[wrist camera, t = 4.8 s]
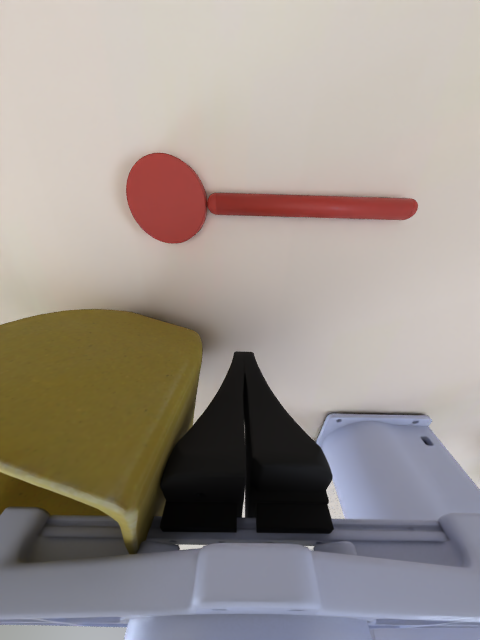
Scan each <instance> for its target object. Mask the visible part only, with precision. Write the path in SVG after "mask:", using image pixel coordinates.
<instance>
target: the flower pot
mask: <svg viewBox="0 0 480 640" xmlns="http://www.w3.org/2000/svg"><path fill="white" fill-rule="evenodd" d="M202 351H203V349H202V342H201V338H200V336H199V334H198V333H197V332H195V331H194V330H191V329H187V328H184V327H181V326H177V325H174V324H170V323H167V322H163V321H160V320H156V319H153V318H150V317H146V316H143V315H140V314H136V313H133V312H128V311H118V310H104V309H81V310H67V311H60V312H53V313H47V314H41V315H37V316H32V317H28V318H24V319H20V320H16V321H13V322H9V323H5V324H2V325H0V515H1V514H2V512H3V511H4V510H5V509H6V508H8V507H38V508H42V509H44V510H46V511H48V513H49V514H50V515H83V516H110V517H111V518H113V519H114V520H115V521H117V522H118V523H119V525H120V528H121V532H122V536H123V540H124V543H125V546H126V548H127V550H128V553H129V554H137V551H138V549H139V547H140V544H141V543H142V542H143V541H146V538H147V535H148V532H149V529H150V527H151V525H152V521H153V518H154V516H159V517H162V514H163V510H164V506H165V502H166V499H165V497H164V495H163V492H162V490H161V487H160V483H161V479H162V476H163V472H164V469H165V466H166V463H167V461H168V458H169V456H170V454H171V452H172V450H173V448H174V446H175V444H176V443H177V442H178V441H179V440H180V439H181V438H182V437H183V436H184V435H185V434H186V433H187V432H188V431H189V429H190V428H191V427H192V426H193V418H194V409H195V402H196V395H197V387H198V381H199V374H200V368H201V362H202Z"/></svg>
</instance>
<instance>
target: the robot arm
mask: <svg viewBox="0 0 480 640" xmlns="http://www.w3.org/2000/svg"><path fill="white" fill-rule="evenodd" d="M431 422H432V419H431V418H430V417H429V416H426V415H377V414H329V415H328V416H327V417H326V420H325V422H324V424H323V427H322V429H321V432H320V434H319V436H318V439H317V441H316V442H315V441H314V440H312V439H311V438H310V437H309V436H308V435H307V434H306V433H305V432H304V431H303V429H302V428H301V427H300V426H299V425H298V424H297V423H296V422H295V421H294V420H293V418H292V417H291V416H290V415H289V414H288V413H287V411H286V410H285V409H284V408H283V406H282V405H281V404H280V402H279V401H278V400H277V398H276V397H275V395H274V394H273V392H272V391H271V389H270V387H269V386H268V384H267V382H266V381H265V379H264V377H263V375H262V373H261V371H260V369H259V367H258V364H257V362H256V359H255V356H254V353H253V352H235V353H234V356H233V360H232V363H231V366H230V368H229V371H228V373H227V375H226V377H225V379H224V381H223V383H222V385H221V387H220V389H219V390H218V392H217V394H216V395H215V397H214V398H213V400H212V402H211V403H210V404H209V406H208V407H207V409H206V410H205V411H204V413H203V414H202V415H201V416H200V418H199V419H198V420H197V421H196V422H195V424H194V425H193V426H192V427H191V428H190V429H189V431H188V432H187V433H186V434H185V435H184V436H183V437H182V438H181V439H180V440H179V441H178V442H177V443H176V444H175V446H174V448H173V450H172V452H171V454H170V456H169V458H168V461H167V463H166V466H165V469H164V472H163V476H162V479H161V483H160V487H161V490H162V492H163V495H164V497H165V499H166V502H165V506H164V510H163V514H162V517H159V516H154V518H153V521H152V525H151V527H150V529H149V532H148V535H147V538H146V541H143V542H142V543H141V544H140V547H139V549H138V551H137V554H129V553H128V550H127V548H126V546H125V543H124V540H123V536H122V532H121V528H120V525H119V523H118V522H117V521H115V520H114V519H113V518H111V517H110V516H83V515H50V514H49V513H48V511H46V510H44V509H42V508H38V507H8V508H6V509H5V510H4V511H3V512H2V514H1V515H0V625H52V626H54V625H55V626H94V627H95V626H96V627H127V630H126V634H125V637H124V640H480V489H479V488H478V487H477V486H476V485H475V483H474V482H473V481H472V480H471V478H470V477H469V476H468V475H467V473H466V472H465V471H464V470H463V469H462V467H461V466H460V465H459V464H458V462H457V461H456V460H455V459H454V457H453V456H452V455H451V454H450V453H449V451H448V450H447V449H446V448H445V446H444V445H443V444H442V443H441V441H440V440H439V439H438V438H437V437H436V435H435V434H434V433H433V432H432V430H431V429H430V428H429V427H428V426H429V425H430V423H431ZM244 424H245V433H244ZM332 480H333V483H334V486H335V489H336V492H337V495H338V498H339V501H340V504H341V507H342V511H343V514H344V517H345V519H331V516H330V512H329V509H328V505H327V504H328V503H329V500H328V497H327V493H326V489H327V487H328V486H329V484H330V482H331V481H332ZM244 492H245V518H242V509H243V502H244ZM175 544H187V545H206V546H203V548H199V549H188V550H179V549H180V548H179V546H178V545H175ZM305 546H314V548H313V549H314V551H311V550H309V549H308V547H305Z"/></svg>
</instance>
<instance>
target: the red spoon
mask: <svg viewBox="0 0 480 640" xmlns="http://www.w3.org/2000/svg"><path fill="white" fill-rule="evenodd" d="M126 193H127V201H128V205H129V208H130V210H131V213H132V215H133V217H134V219H135V220H136V222H137V223H138V224H139V226H140V227H141V228H142V229H143V230H144V231H145V232H146V233H148V234H149V235H150V236H152V237H153V238H155V239H157V240H159V241H162V242H166V243H181V242H184V241H187V240H189V239H190V238H192V237H193V236H194V235H195V234H196V233H197V232H198V231H199V230H200V229H201V228H202V226H203V224H204V221H205V219H206V215H207V206H208V209H209V210H210V212H211V213H213V214H216V215H245V216H280V217H315V218H350V219H386V220H405V219H408V218H410V217H412V216H413V215H414V214H415V213H416V211H417V208H418V204H417V202H416V201H415V200H414V199H410V198H377V197H343V196H309V195H275V194H241V193H213V194H211V195H210V196H209V198H208V200H207V197H206V192H205V189H204V186H203V184H202V182H201V180H200V179H199V177H198V175H197V174H196V173H195V171H194V170H193V169H192V168H191V167H190V166H189V165H187V164H186V163H185V162H183V161H181V160H180V159H178V158H176V157H174V156H172V155H169V154H165V153H153V154H149V155H146V156H144V157H142V158H141V159H139V160H138V161H137V162H136V163H135V165H134V166H133V167H132V169H131V171H130V173H129V176H128V179H127V186H126Z"/></svg>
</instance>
